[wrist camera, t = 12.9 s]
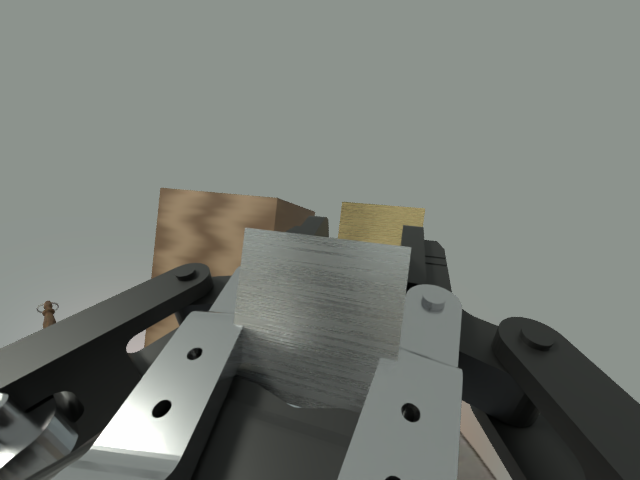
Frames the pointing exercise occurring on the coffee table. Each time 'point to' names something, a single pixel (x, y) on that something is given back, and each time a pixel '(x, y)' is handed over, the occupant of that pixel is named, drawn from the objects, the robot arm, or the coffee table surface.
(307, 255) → the wood and metal block
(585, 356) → the robot arm
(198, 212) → the tall stand
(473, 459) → the coffee table surface
